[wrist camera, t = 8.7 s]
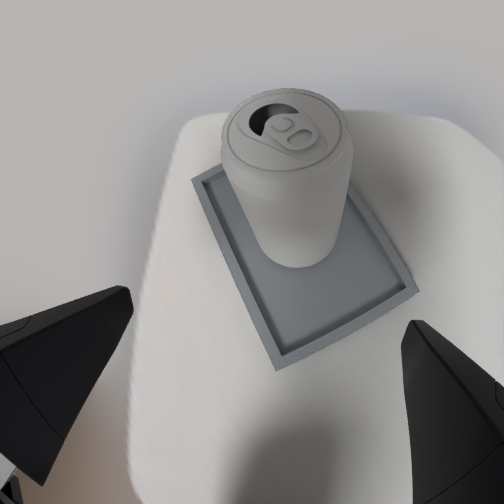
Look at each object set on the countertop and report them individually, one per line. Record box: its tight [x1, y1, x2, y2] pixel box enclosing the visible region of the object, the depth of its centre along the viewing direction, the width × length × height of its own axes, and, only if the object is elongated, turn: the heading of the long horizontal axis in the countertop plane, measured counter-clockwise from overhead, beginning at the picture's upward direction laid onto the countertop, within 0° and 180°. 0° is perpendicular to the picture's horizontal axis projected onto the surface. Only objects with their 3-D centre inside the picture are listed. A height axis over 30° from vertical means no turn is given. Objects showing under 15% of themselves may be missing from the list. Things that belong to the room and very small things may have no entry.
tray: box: [191, 164, 419, 371], centre depth 23 cm, size 18×12×2 cm, turn 24°
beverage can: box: [221, 88, 354, 268], centre depth 17 cm, size 6×6×12 cm
